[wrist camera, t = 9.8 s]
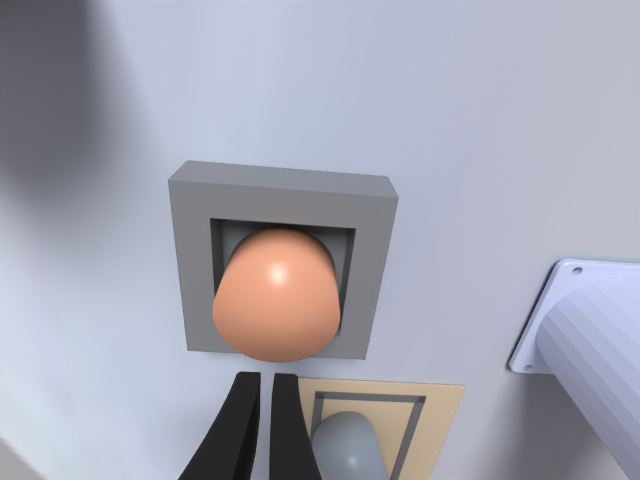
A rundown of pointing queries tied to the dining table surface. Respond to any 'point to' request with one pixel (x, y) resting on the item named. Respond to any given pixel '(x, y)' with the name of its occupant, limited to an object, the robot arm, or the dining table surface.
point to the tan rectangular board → (389, 417)
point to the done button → (278, 296)
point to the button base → (290, 211)
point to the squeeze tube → (348, 448)
